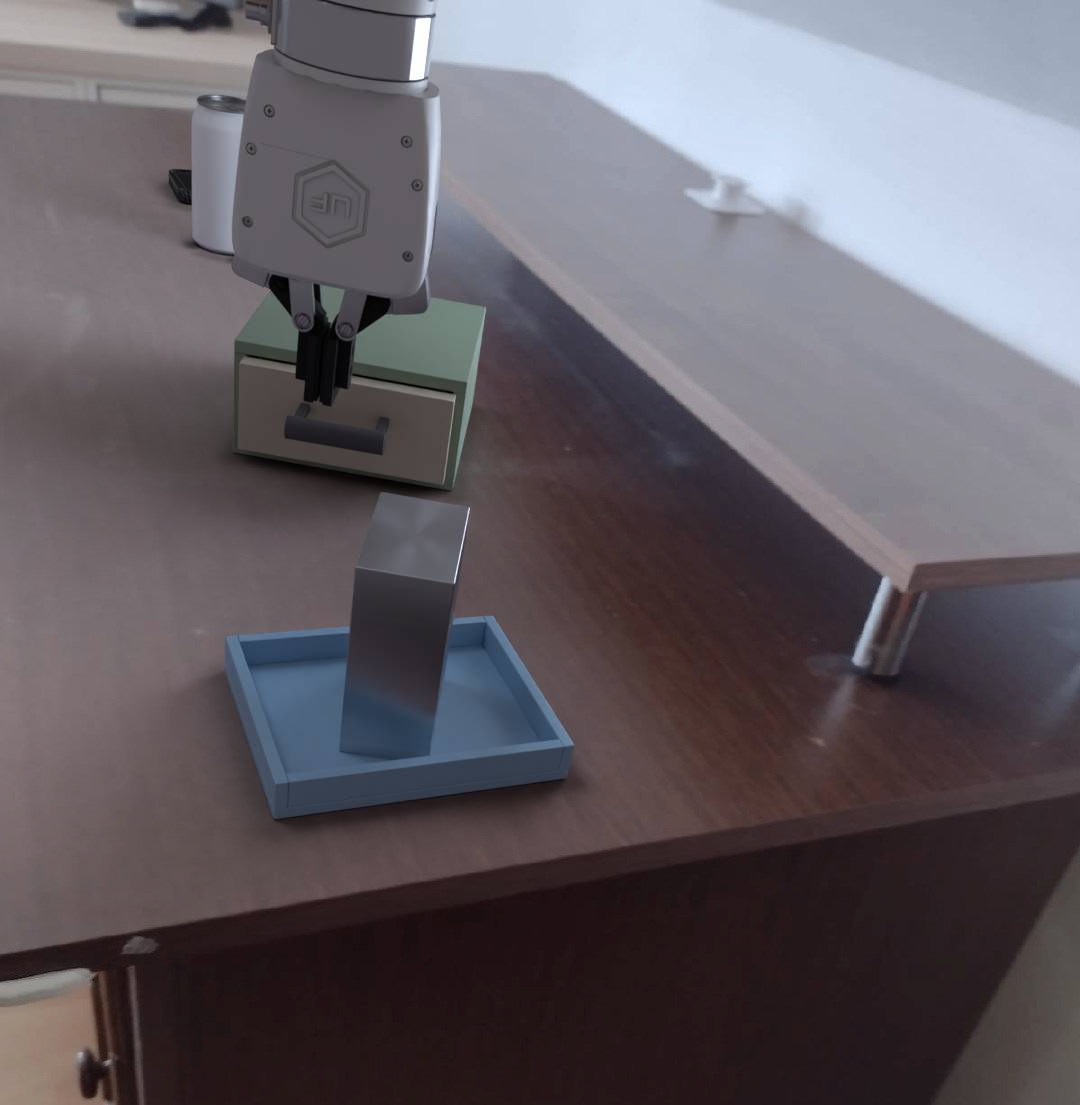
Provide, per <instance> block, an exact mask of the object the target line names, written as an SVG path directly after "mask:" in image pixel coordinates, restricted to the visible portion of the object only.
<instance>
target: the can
mask: <svg viewBox="0 0 1080 1105" xmlns="http://www.w3.org/2000/svg"><path fill="white" fill-rule="evenodd" d="M246 99H247V98H243V97H238V96H232V95H225V94H204V95H199V96H197V97H196V102H197V104H196V107H195V109H194V111H193V113H192V115H191V170H192V203H191V226H192V227H191V233H192V239H193V241H195V243H196V244H197V246H198V247H200V248H202V249H203V250H206V251H208V252H212V253H216V254H220V255H227V256H234V254H235V253H234V250H233V245H232V216H233V203H234V193H235V183H236V174H237V165H238V154H239V147H240V139H241V131H242V124H243V117H244V110H245V104H246Z"/></svg>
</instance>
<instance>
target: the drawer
mask: <svg viewBox="0 0 1080 1105" xmlns="http://www.w3.org/2000/svg"><path fill="white" fill-rule="evenodd" d="M295 372H296V363H292V362H287V361H281V360H276V359H270V358H265V357H260V359H257V358H251V357H246V356H244V357H243V358H242V360H241V361H240V363H239V402H238V449H241V450H247V451H253V452H258V453H264V454H270V455H275V456H281V457H287V458H292V459H298V460H304V461H309V462H315V463H321V464H326V465H332V466H338V467H343V468H349V469H355V470H361V471H366V472H372V473H378V474H383V475H389V476H395V477H400V478H406V479H412V480H417V481H423V482H429V483H434V484H440V485H443V484H444V480H445V475H446V467H447V460H448V452H449V445H450V437H451V430H452V422H453V415H454V407H455V400H456V395H455V394H453V392H452V391H446V390H441V389H435V388H430V387H424V386H419V385H413V384H408V383H402V382H397V381H391V380H386V379H380V378H375V377H369V376H364V375H358V374H353V373H352V379H351V383H350V386H349V389H348V390H347V389H342V388H340V390H339V392H338V394H337V396H336V398H335V401H334V403H333V405H332V407H330V406H325V405H322V402H319V398H318V400H317V401H314V402H313V403H310V402H305V401H304V386H305V381H303V380H299V379H296V378H295ZM319 397H320V396H319Z"/></svg>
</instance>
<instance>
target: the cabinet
mask: <svg viewBox="0 0 1080 1105" xmlns="http://www.w3.org/2000/svg"><path fill="white" fill-rule="evenodd" d="M344 291H345V290H343V289H338V288H333V287H329V286H324V285H322V292H323V308H324V310H325V311H326V312H327V315H326V317H329V318H328V322H331V324H332V323H333V321H334V319H335V317H336V315H337V314H338V313H339V311H340V307H341V303H342V299H343V295H344ZM486 312H487V307H486V306H482V305H476V304H471V303H465V302H460V301H454V300H449V299H445V298H439V297H433V296H430V303H429V306H428V308H427V310H426V312H424V313H423V314H410V315H393V314H385V315H384V316H383V317H381V318H380V319H378V320H377V321H375V322H374V323H373V324H371V325H370V326H368V327H367V328H365V329H364V330H363V331H361V332H360V333H358V334H357V335H356V343H355V353H354V362H353V372H352V373H353V374H358V375H364V376H369V377H375V378H380V379H386V380H391V381H397V382H402V383H408V384H413V385H419V386H424V387H430V388H435V389H441V390H446V391H452V392H453V394H455V395H456V400H455V407H454V415H453V422H452V430H451V437H450V445H449V452H448V460H447V467H446V475H445V480H444V484H443V485H440V484H434V483H429V482H423V481H417V480H412V479H406V478H400V477H395V476H389V475H383V474H378V473H372V472H366V471H361V470H355V469H349V468H343V467H338V466H332V465H326V464H321V463H315V462H309V461H304V460H298V459H292V458H287V457H281V456H275V455H270V454H264V453H258V452H253V451H247V450H241V449H238V402H239V363H240V361H241V360H242V358H243V357H244V356H246V357H251V358H257V359H260V357H265V358H270V359H276V360H281V361H287V362H292V363H296V358H297V345H298V331H299V330H297V329H296V328H295V327H294V325H293V323H292V317H291V316H290V314H289V313H288V312H287V311H286V309H285V308H284V307H283V306H282V304H281V303H280V302H279V300H278V299H277V298H276V297H275V295H274V294H273V293H272V291H271V290H270V289H269V292H268V293H267V295H265V297H264V298H263V300H262V301H261V303H260V304H259V305H258V307H257V309H255V311H254V312H253V314H252V315H251V316H250V318H249V320H248V321H247V322H246V323H245V325H244V326H243V328H242V329H241V331H240V332H239V333H238V335H237V336H236V337H235V339H234V341H233V342H234V346H233V347H234V348H233V350H234V353H233V354H234V355H233V356H234V357H233V411H232V412H233V415H232V453H234V454H241V455H245V456H252V457H257V458H258V457H259V458H263V459H270V460H275V461H280V462H285V463H293V464H297V465H303V466H309V467H314V468H320V469H325V470H332V471H338V472H343V473H348V474H355V475H359V476H366V477H372V478H376V479H377V478H378V479H382V480H388V481H394V482H400V483H405V484H411V485H416V486H423V487H428V488H434V489H440V490H445V491H450V492H451V491H454V486H455V481H456V478H457V473H458V469H459V464H460V460H461V455H462V452H463V447H464V444H465V443H464V442H465V439H466V434H467V431H468V426H469V421H470V417H471V412H472V408H473V403H474V395H475V388H476V381H477V376H478V375H477V374H478V367H479V361H480V355H481V354H480V353H481V348H482V347H481V346H482V339H483V332H484V326H485V318H486Z"/></svg>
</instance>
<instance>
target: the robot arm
mask: <svg viewBox="0 0 1080 1105" xmlns="http://www.w3.org/2000/svg"><path fill="white" fill-rule="evenodd" d="M437 6H438V0H245V1H244V16H245V19H246V20H247V21H252V22H255V23H260V25H261V27H264V28H267V34H269V35H270V45H271V46H273V48H271V49H266V50H263V51H261V52H259V53H257V54H256V55H255V59H254V62H253V65H252V70H251V74H250V75H251V76H250V79H249V84H248V88H247V94H246V95H247V96H246V98H245V99H246V104H245V110H244V117H243V124H242V131H241V139H240V147H239V154H238V165H237V174H236V183H235V193H234V203H233V216H232V245H233V250H234V253H235V254H234V255H233V257H232V261H231V265H230V266H231V267H230V268H231V270H232V273H234V274H235V275H236V276H238V277H240V278H242V279H244V280H246V281H249V282H251V283H253V284H255V285H257V286H259V287H261V288H266V289H268V290H269V291H270V290H271V291H272V293H273V294H274V295H275V297H276V298H277V299H278V300H279V302H280V303H281V304H282V306H283V307H284V308H285V309H286V311H287V312H288V313H289V314H290V316H291V317H292V323H293V325H294V327H295V328H296V329H297V330H299V331H298V345H297V358H296V372H295V378H296V379H299V380H303V381H305V386H304V401H305V402H310V403H313V402H314V401H317V400H318V398H319V402H322V405H325V406H330V407H332V405H333V403H334V401H335V398H336V396H337V394H338V392H339V390H340V388H342V389H347V390H348V389H349V386H350V383H351V379H352V372H353V362H354V353H355V343H356V335H357V334H358V333H360V332H361V331H363V330H364V329H365V328H367V327H368V326H370V325H371V324H373V323H374V322H375V321H377V320H378V319H380V318H381V317H383V316H384V315H385V314H393V315H410V314H423V313H424V312H426V310H427V308H428V306H429V303H430V297H431V290H430V279H429V278H430V277H429V268H428V267H429V264H430V262H431V259H432V258H431V257H432V254H433V249H434V244H435V243H434V242H435V235H436V234H435V233H436V223H437V214H438V204H439V191H440V178H441V177H440V176H441V175H440V174H441V156H442V149H441V148H442V116H441V115H442V114H441V97H440V96H441V95H440V88H439V86H437V85H436V84H435V83H433V82H432V81H429V75H430V74H429V73H430V68H431V58H432V50H433V45H434V44H433V42H434V34H435V27H436V18H437V8H438V7H437ZM322 285H324V286H329V287H333V288H338V289H343V290H345V291H344V295H343V299H342V303H341V307H340V311H339V313H338V314H337V315H336V317H335V319H334V321H333V323H332V324H331V322H328V318H329V317H326V315H327V312H326V311H325V310H324V308H323V292H322ZM319 396H320V397H319Z"/></svg>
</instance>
